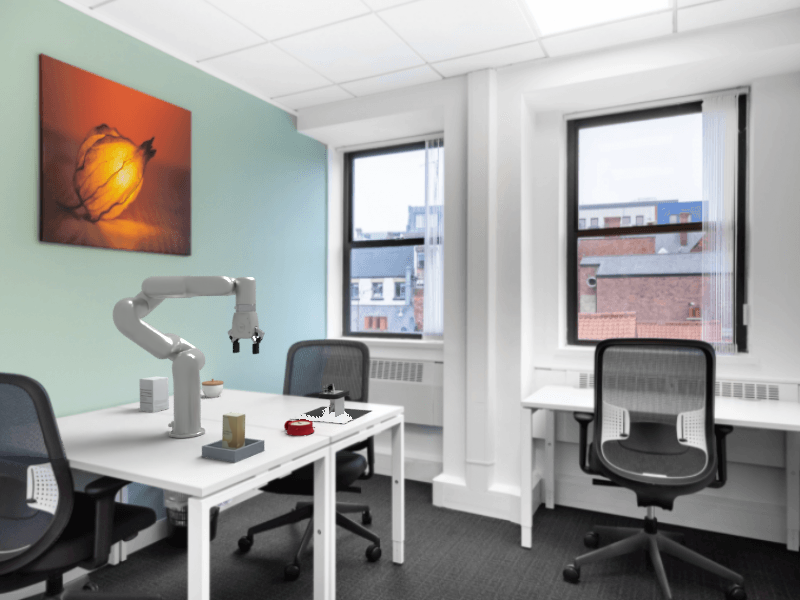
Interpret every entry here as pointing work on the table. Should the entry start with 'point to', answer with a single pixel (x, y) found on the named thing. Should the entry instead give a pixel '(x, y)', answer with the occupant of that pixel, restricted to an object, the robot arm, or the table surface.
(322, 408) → the black-topped pedestal
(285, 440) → the table surface
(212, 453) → the tray
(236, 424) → the skincare box
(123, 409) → the table surface
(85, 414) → the table surface
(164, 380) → the supplement box
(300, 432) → the alarm clock
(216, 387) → the lidded jar
